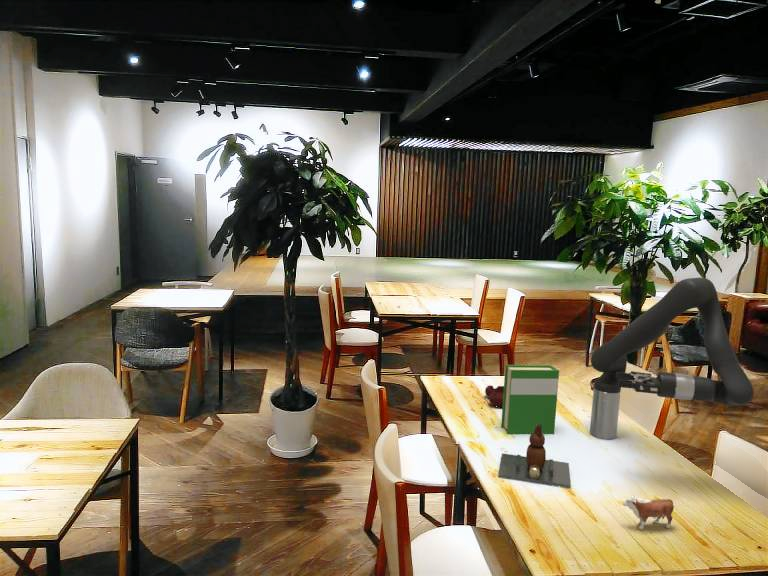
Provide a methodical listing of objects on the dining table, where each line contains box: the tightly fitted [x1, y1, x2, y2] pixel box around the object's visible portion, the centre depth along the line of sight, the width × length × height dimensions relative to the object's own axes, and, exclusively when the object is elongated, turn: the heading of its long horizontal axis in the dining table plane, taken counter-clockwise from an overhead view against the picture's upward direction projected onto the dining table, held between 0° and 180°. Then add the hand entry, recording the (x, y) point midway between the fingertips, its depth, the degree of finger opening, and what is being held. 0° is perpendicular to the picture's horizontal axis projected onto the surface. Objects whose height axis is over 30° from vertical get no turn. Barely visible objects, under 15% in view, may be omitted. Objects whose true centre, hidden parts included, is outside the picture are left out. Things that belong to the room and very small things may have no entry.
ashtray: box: [484, 385, 504, 408], centre depth 244 cm, size 18×16×5 cm
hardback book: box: [500, 364, 560, 435], centre depth 212 cm, size 18×7×24 cm, turn 96°
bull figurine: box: [622, 495, 675, 531], centre depth 149 cm, size 4×13×8 cm, turn 95°
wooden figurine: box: [525, 424, 547, 470], centre depth 178 cm, size 7×6×15 cm
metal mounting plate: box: [497, 453, 572, 489], centre depth 179 cm, size 16×21×4 cm
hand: (617, 379), depth 177 cm, fingers open, 8 cm apart
